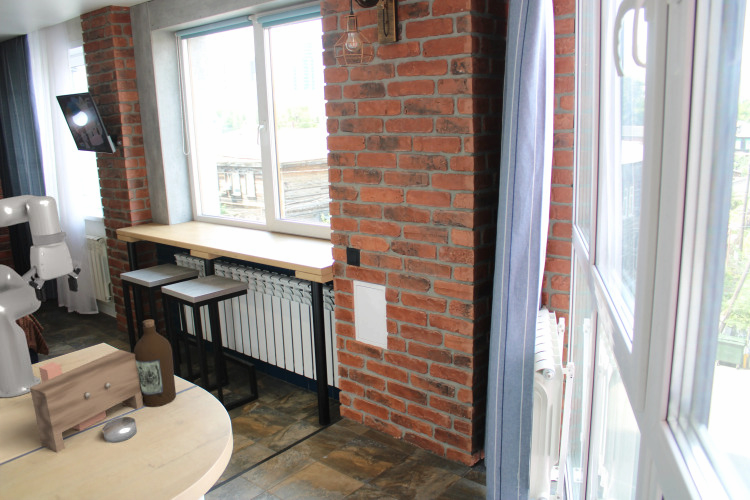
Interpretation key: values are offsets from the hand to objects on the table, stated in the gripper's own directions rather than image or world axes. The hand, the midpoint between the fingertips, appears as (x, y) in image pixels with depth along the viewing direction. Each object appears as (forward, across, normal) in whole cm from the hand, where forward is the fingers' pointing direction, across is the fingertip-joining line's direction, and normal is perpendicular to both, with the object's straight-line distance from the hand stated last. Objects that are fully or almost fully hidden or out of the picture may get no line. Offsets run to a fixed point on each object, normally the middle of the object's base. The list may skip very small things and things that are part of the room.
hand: (58, 295), depth 169 cm
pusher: (+32, +8, +11) cm, 35 cm away
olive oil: (+32, -10, +26) cm, 43 cm away
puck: (+32, +8, +32) cm, 47 cm away
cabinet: (+32, +8, +22) cm, 40 cm away
